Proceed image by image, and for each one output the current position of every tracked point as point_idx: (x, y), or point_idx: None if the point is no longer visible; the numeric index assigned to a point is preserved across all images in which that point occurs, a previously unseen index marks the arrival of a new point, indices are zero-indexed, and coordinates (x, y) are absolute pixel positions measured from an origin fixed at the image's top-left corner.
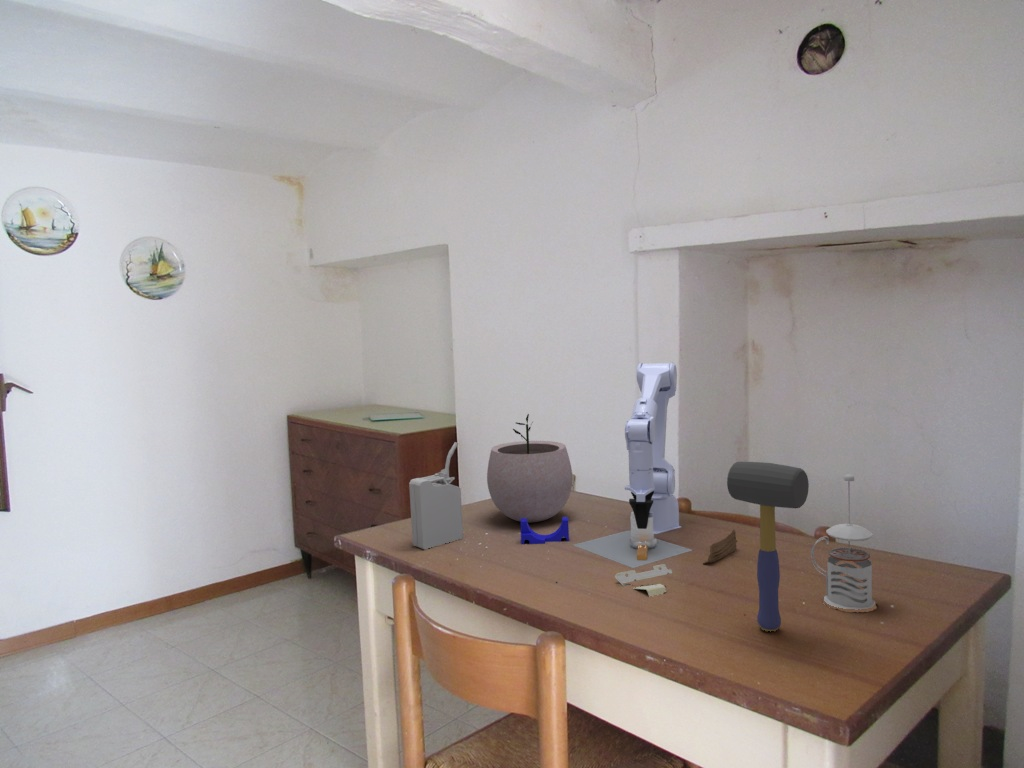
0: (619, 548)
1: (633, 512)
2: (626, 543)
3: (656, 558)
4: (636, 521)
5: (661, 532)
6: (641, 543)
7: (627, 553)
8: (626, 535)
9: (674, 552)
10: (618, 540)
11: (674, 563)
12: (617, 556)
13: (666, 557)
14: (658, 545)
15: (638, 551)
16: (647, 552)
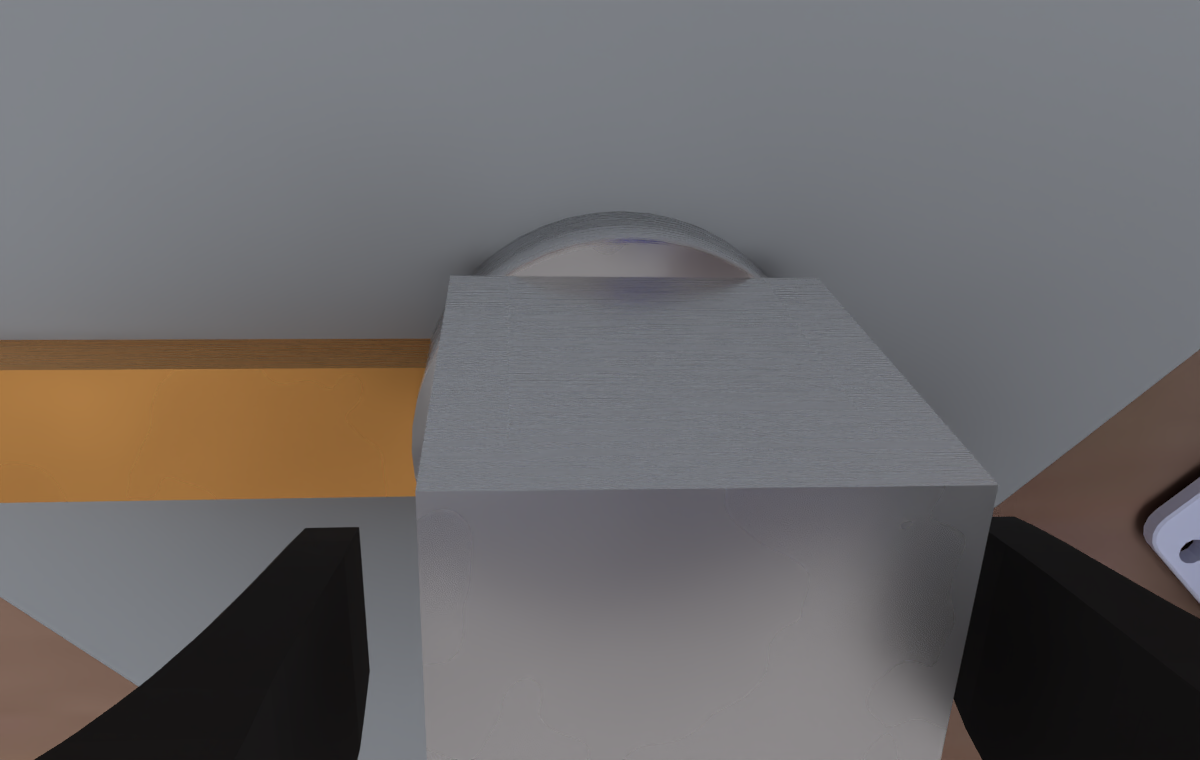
0: (463, 47)
1: (891, 535)
2: (730, 152)
3: (86, 576)
4: (231, 606)
5: (1193, 596)
6: (414, 429)
7: (224, 189)
8: (1148, 135)
9: (370, 750)
10: (898, 10)
11: (46, 738)
12: (34, 30)
13: None
14: None
15: (86, 386)
16: None
